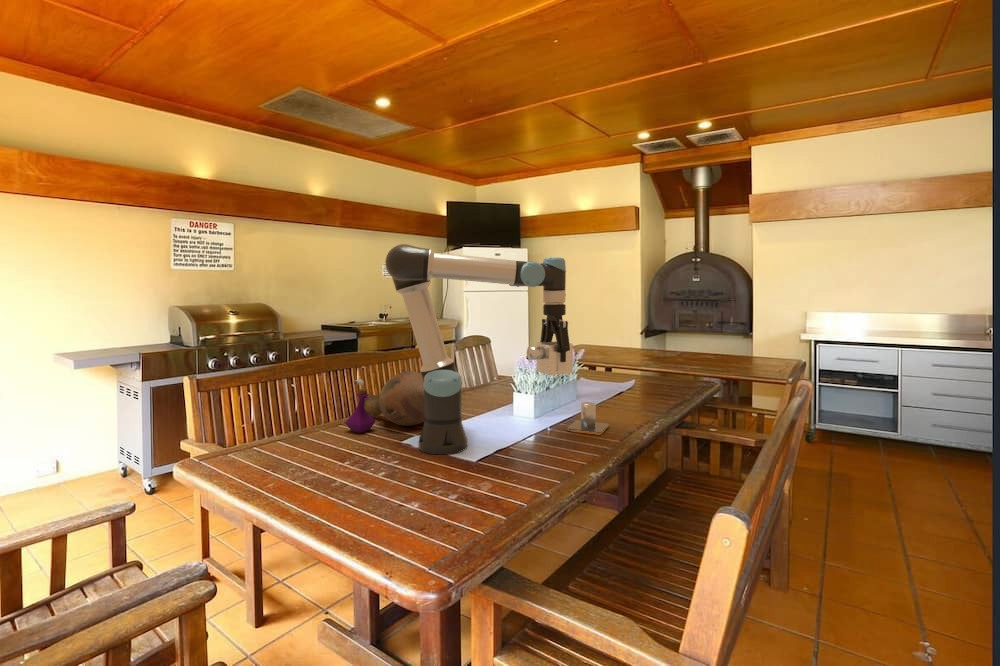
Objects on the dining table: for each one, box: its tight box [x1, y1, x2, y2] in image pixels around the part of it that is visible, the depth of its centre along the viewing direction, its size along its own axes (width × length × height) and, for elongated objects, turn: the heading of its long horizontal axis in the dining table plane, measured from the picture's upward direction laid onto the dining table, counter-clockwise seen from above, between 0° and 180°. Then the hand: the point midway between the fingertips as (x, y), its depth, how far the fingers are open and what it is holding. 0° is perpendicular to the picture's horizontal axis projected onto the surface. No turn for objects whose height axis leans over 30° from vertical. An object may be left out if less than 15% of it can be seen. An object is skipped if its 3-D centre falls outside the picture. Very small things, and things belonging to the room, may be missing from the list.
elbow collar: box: [526, 340, 574, 376], centre depth 174 cm, size 14×9×10 cm, turn 113°
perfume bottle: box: [344, 378, 376, 434], centre depth 177 cm, size 8×8×18 cm
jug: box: [364, 370, 424, 427], centre depth 188 cm, size 20×20×30 cm
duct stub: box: [566, 401, 610, 433], centre depth 181 cm, size 12×12×9 cm
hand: (554, 369), depth 176 cm, fingers closed on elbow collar, 9 cm apart
